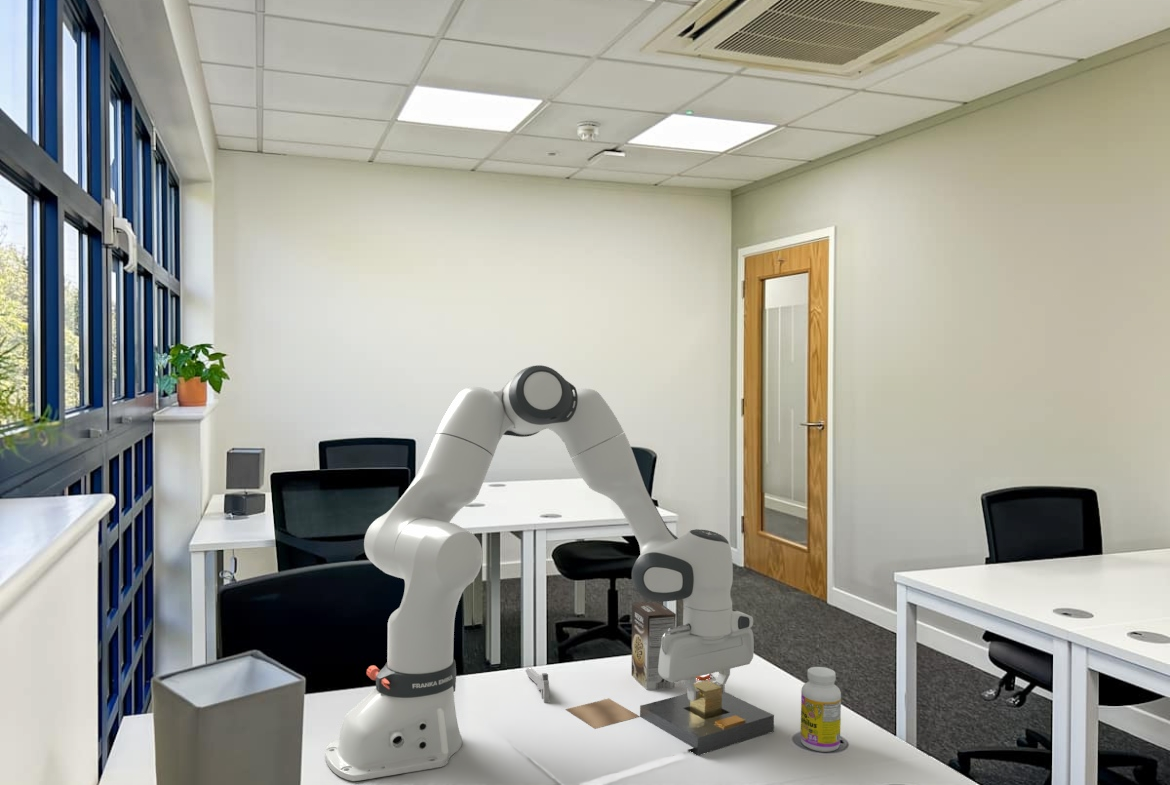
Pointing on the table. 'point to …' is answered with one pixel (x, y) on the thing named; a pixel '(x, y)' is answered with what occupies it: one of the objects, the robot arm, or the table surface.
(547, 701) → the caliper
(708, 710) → the brass peg
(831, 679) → the supplement bottle
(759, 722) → the hole plate
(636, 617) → the coffee box
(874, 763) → the table surface
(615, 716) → the copper pad
